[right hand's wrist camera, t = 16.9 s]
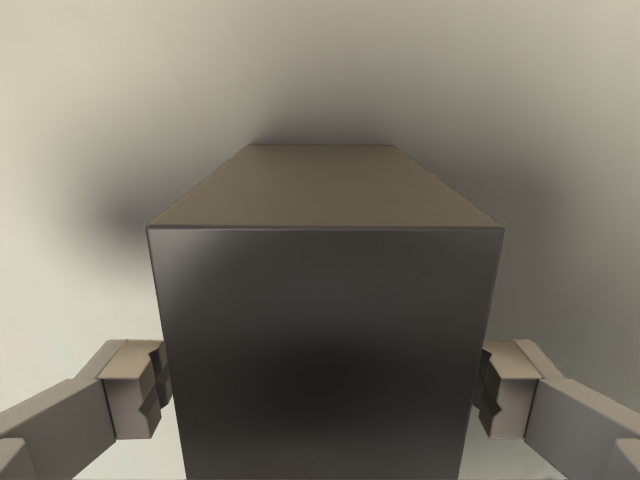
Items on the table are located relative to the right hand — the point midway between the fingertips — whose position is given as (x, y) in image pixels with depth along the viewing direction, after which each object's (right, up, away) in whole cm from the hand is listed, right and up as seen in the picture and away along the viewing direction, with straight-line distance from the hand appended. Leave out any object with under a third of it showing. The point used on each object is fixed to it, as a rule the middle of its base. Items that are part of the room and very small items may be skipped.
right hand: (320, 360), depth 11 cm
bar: (0, -5, +9) cm, 10 cm away
